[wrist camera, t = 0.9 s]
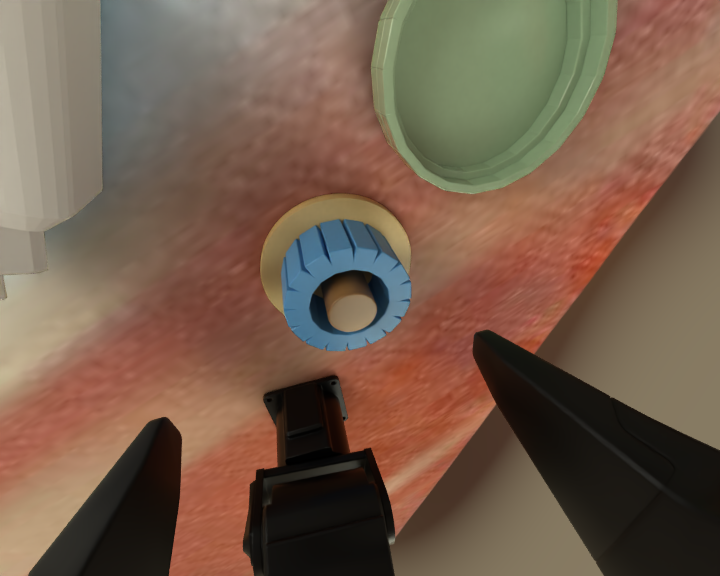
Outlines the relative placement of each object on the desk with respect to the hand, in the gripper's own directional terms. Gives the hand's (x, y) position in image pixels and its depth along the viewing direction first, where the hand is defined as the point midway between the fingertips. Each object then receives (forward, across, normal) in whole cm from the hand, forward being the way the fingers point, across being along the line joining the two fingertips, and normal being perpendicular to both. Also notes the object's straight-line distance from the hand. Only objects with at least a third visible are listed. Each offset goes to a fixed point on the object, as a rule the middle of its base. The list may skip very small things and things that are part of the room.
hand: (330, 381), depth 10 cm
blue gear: (+12, -2, +4) cm, 13 cm away
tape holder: (+13, -2, +4) cm, 14 cm away
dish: (+13, -11, -6) cm, 18 cm away
